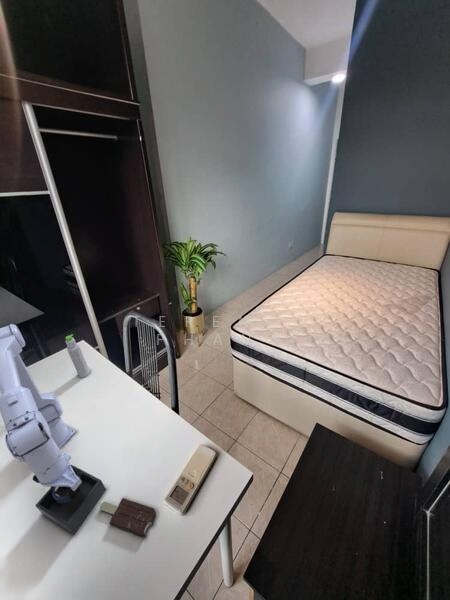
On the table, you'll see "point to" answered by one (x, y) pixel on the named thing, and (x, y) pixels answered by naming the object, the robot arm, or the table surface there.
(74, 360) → the bottle
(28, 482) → the table surface
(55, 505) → the tub
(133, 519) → the ice cream bar
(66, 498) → the rice dish
